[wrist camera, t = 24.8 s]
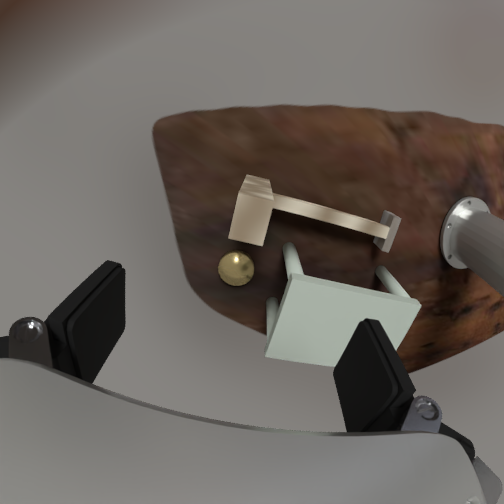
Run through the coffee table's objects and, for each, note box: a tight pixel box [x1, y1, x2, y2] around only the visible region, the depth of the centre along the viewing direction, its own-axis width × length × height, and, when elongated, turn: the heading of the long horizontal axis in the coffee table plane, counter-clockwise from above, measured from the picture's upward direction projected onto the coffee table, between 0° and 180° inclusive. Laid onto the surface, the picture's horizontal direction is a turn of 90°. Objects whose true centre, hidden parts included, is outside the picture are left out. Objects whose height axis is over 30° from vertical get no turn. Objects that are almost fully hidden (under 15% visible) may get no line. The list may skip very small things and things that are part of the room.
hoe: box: [229, 175, 401, 253], centre depth 31 cm, size 21×5×14 cm, turn 77°
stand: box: [265, 242, 422, 367], centre depth 36 cm, size 17×11×12 cm, turn 77°
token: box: [218, 250, 254, 286], centre depth 40 cm, size 5×5×2 cm
